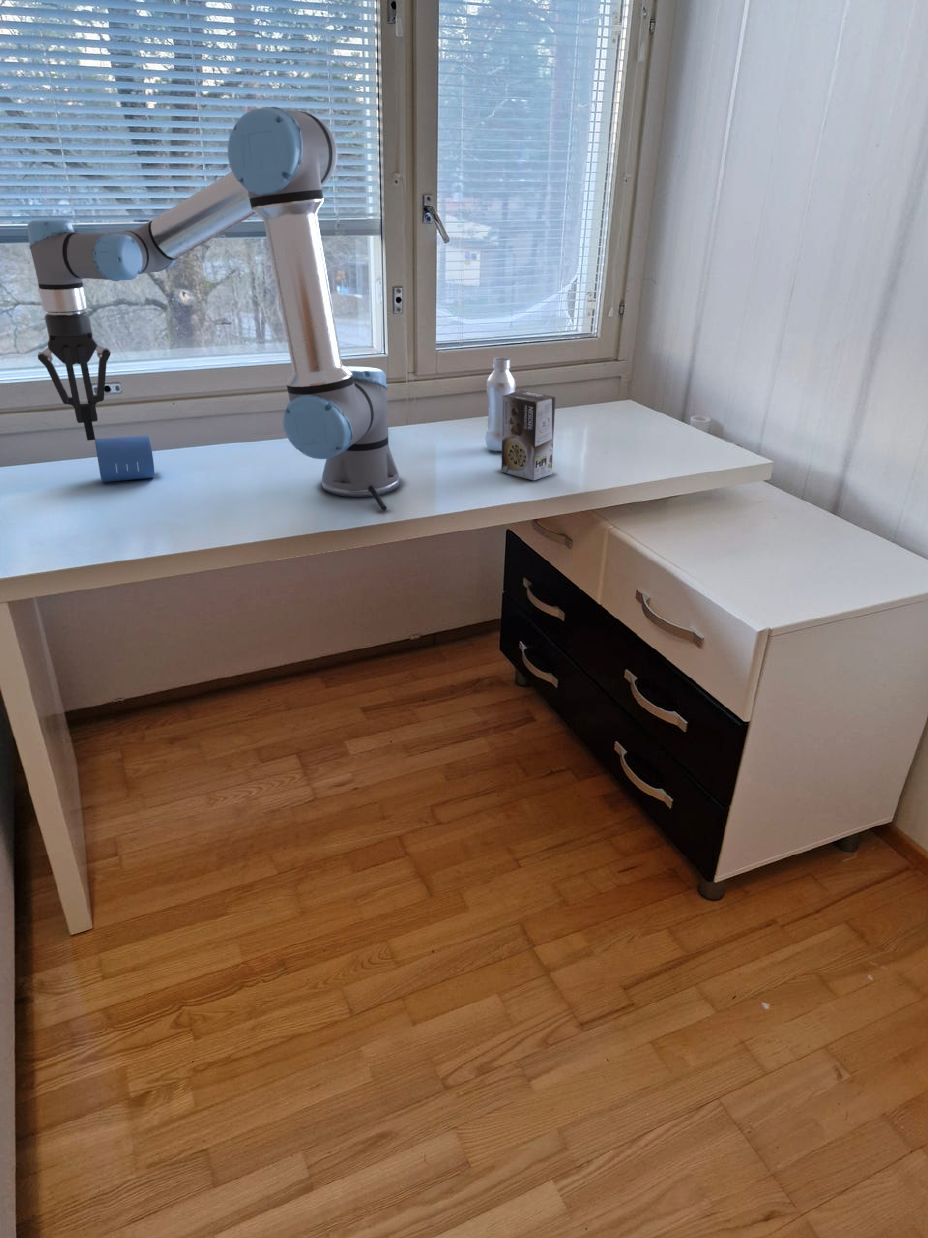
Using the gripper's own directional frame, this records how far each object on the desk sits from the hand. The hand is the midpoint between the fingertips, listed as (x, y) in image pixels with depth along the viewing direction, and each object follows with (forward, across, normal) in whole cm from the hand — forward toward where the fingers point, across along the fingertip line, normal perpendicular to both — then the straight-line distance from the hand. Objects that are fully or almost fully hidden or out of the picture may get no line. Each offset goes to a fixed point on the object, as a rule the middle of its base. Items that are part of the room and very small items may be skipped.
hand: (90, 438), depth 170 cm
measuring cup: (+9, -5, 0) cm, 10 cm away
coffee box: (+9, -82, +28) cm, 87 cm away
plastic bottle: (+9, -84, +11) cm, 85 cm away
